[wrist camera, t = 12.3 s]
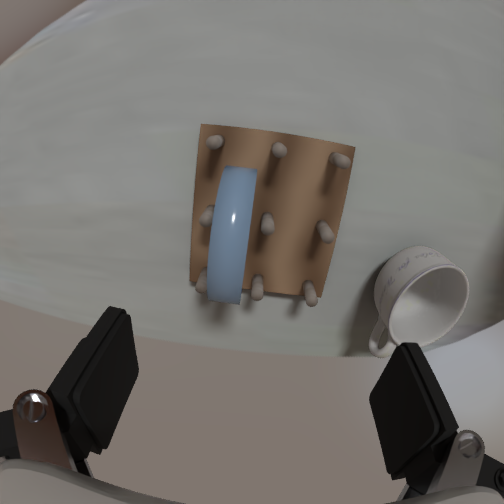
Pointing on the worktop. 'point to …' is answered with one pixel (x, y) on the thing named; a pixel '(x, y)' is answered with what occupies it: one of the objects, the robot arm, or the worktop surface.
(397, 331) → the teacup
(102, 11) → the worktop surface
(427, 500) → the robot arm
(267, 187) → the dish rack
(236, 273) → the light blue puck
